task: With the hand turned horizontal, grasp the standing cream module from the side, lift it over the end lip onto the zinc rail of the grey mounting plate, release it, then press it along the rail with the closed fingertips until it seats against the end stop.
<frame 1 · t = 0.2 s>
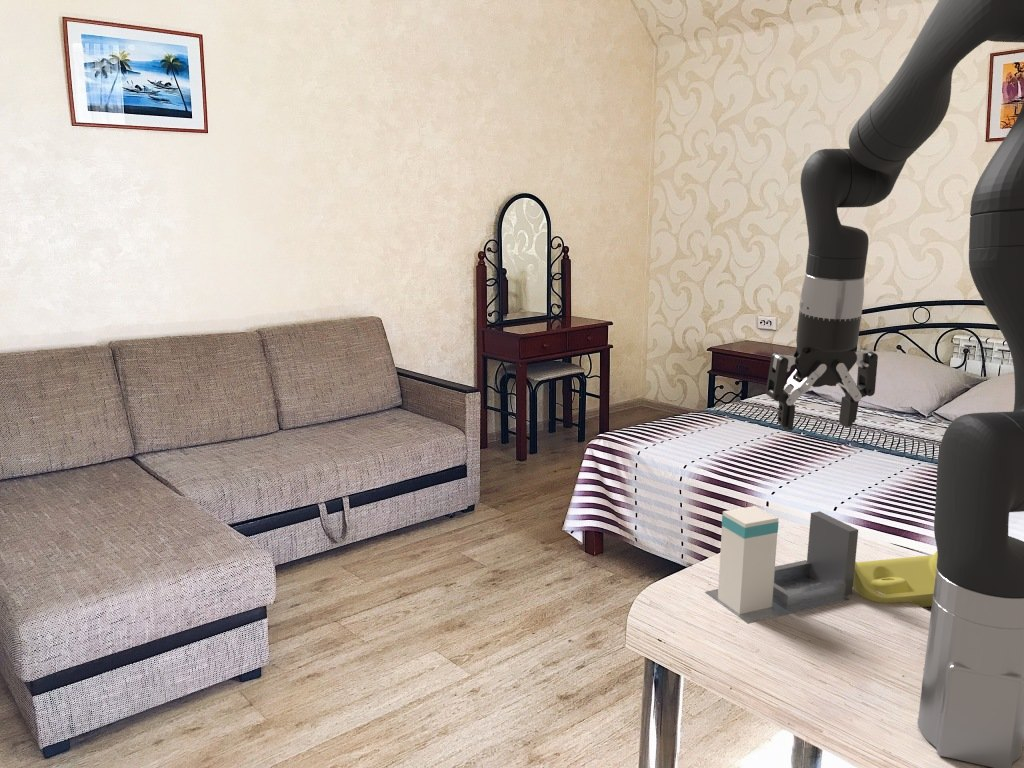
hand: (816, 427, 114), 22 cm above the table, tool pointing down, fingers open, 8 cm apart
plastic component: (917, 596, 114), on the table
module: (744, 602, 109), point 1 cm above the table, touching rail plate
end stop: (827, 594, 114), on the table
rail plate: (775, 606, 111), on the table
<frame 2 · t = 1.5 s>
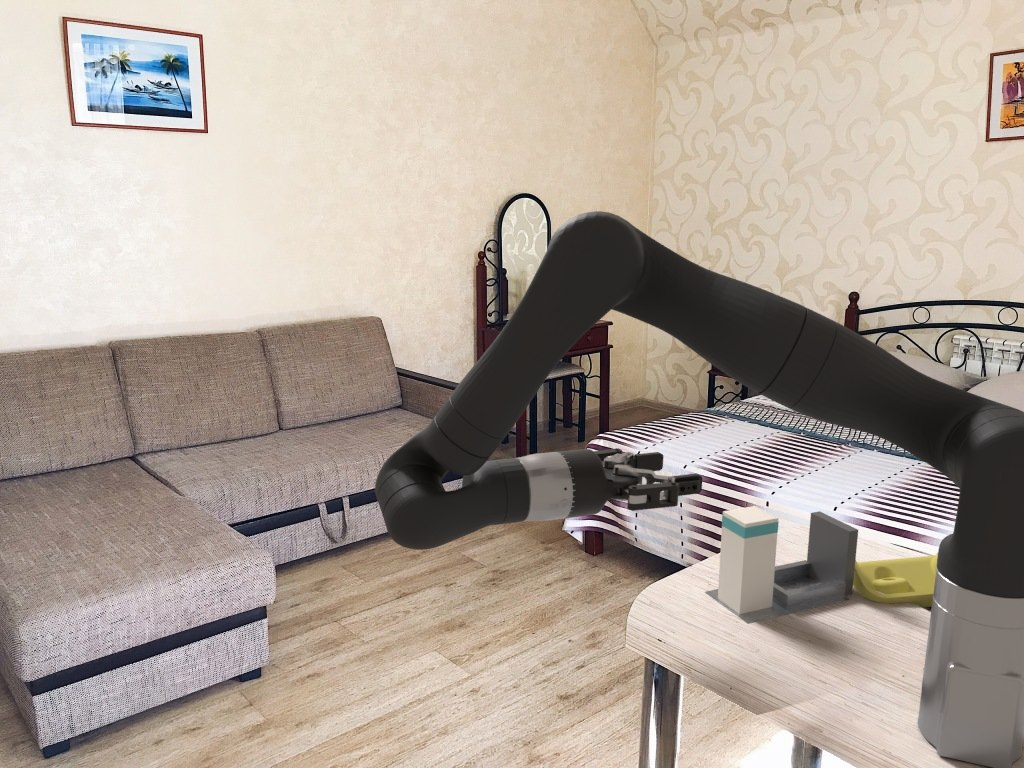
hand: (680, 471, 101), 20 cm above the table, tool horizontal, fingers open, 8 cm apart
nothing on the table moved.
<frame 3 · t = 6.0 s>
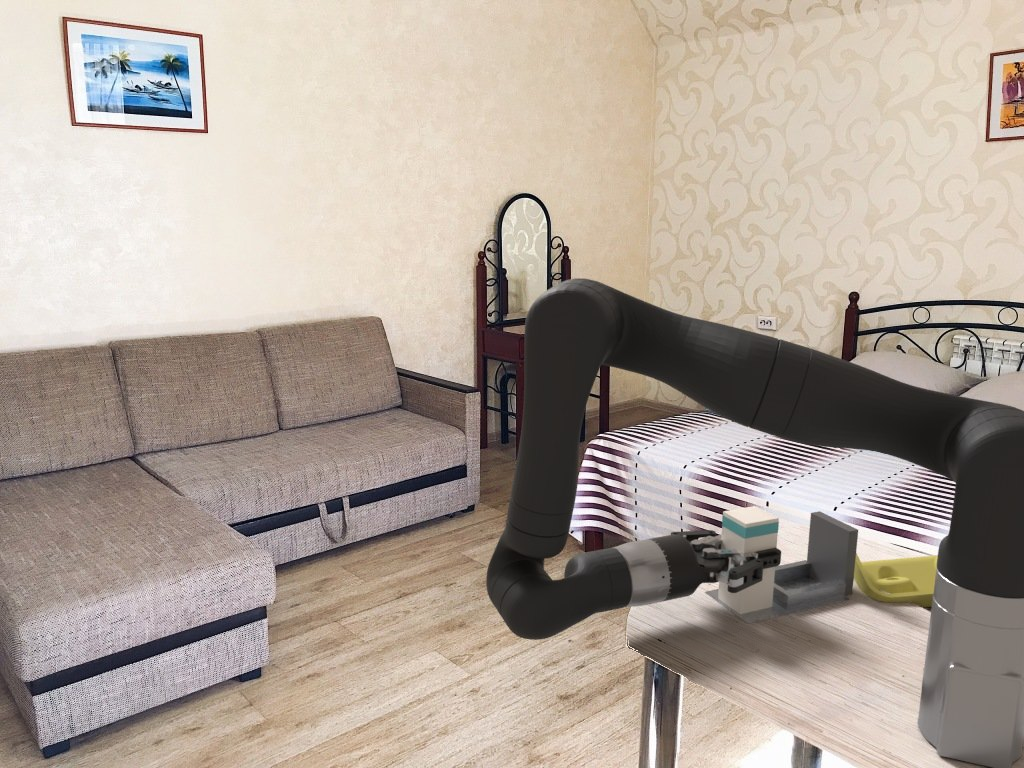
hand: (765, 548, 108), 9 cm above the table, tool horizontal, fingers closed on module, 4 cm apart
module: (744, 602, 109), point 1 cm above the table, touching gripper, rail plate
when the fingers open (10 cm above the table, at t = 9.7 s): module drops 1 cm, resting on rail plate.
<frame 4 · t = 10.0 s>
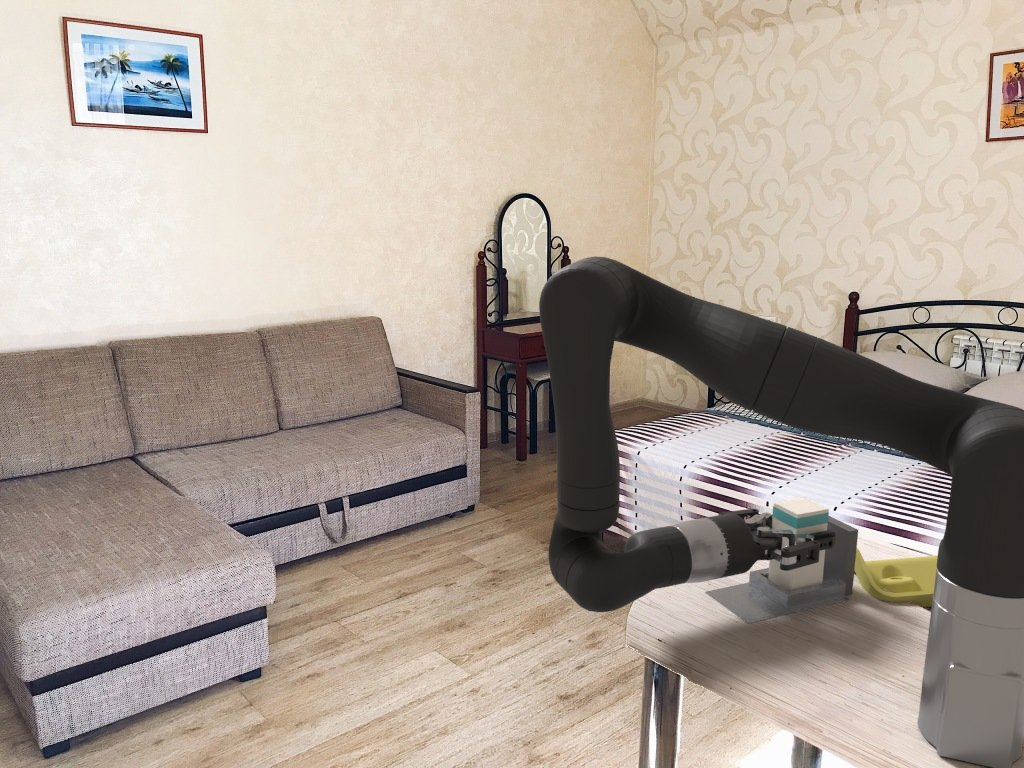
hand: (813, 528, 111), 10 cm above the table, tool horizontal, fingers open, 6 cm apart
module: (794, 591, 112), point 2 cm above the table, touching rail plate
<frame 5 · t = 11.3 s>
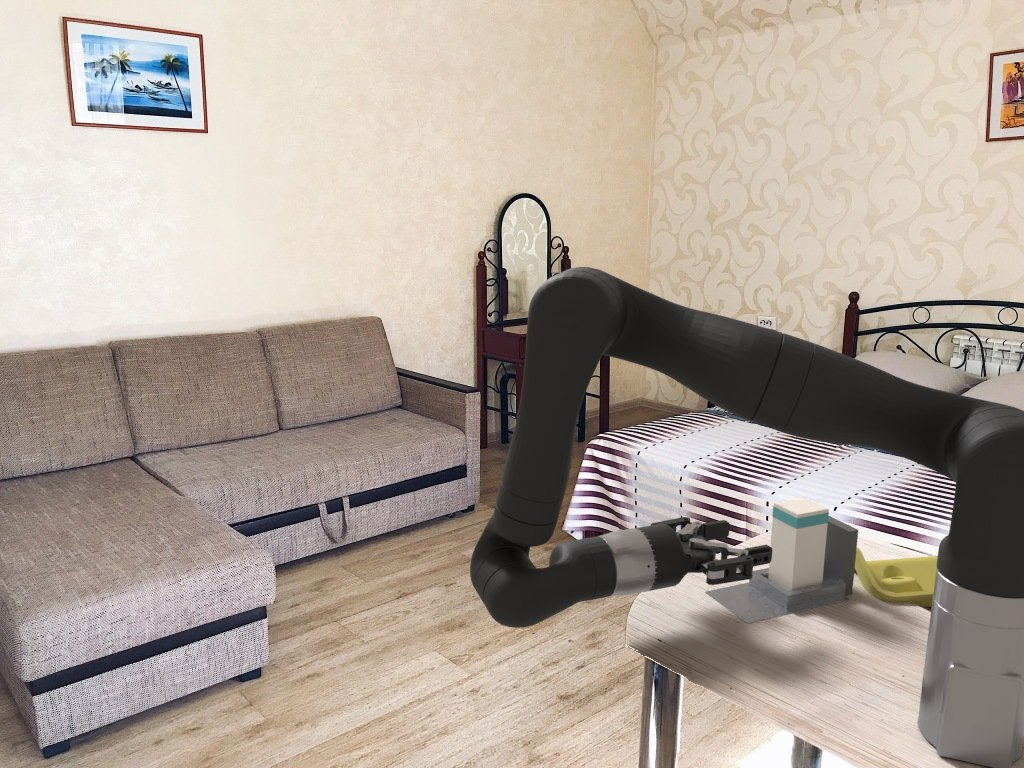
hand: (748, 540, 107), 10 cm above the table, tool horizontal, fingers open, 8 cm apart
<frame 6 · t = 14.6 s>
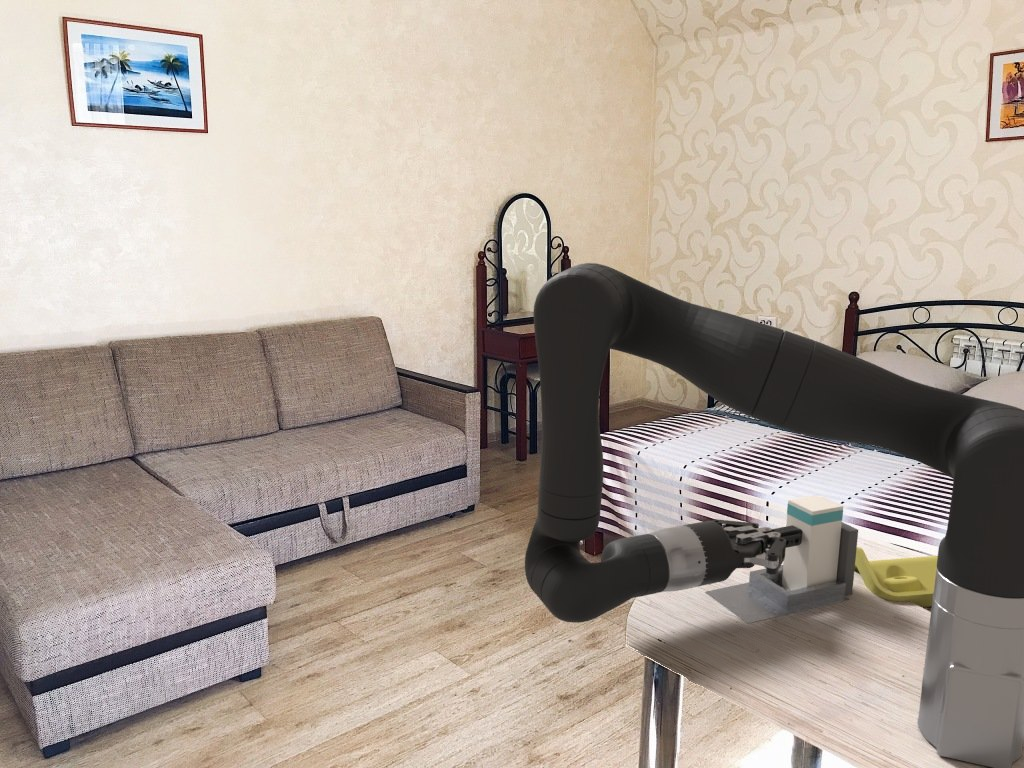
hand: (797, 534, 110), 10 cm above the table, tool horizontal, fingers closed
module: (808, 588, 112), point 2 cm above the table, touching gripper
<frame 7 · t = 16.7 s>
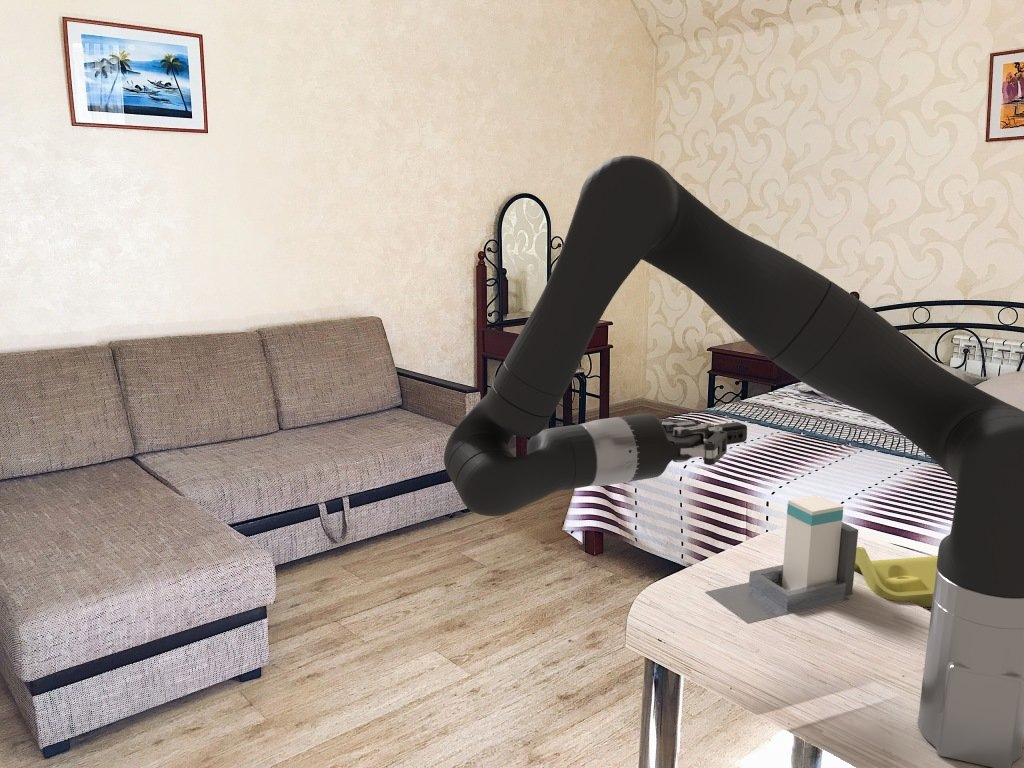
hand: (742, 431, 103), 24 cm above the table, tool horizontal, fingers closed
module: (808, 588, 112), point 2 cm above the table, touching rail plate
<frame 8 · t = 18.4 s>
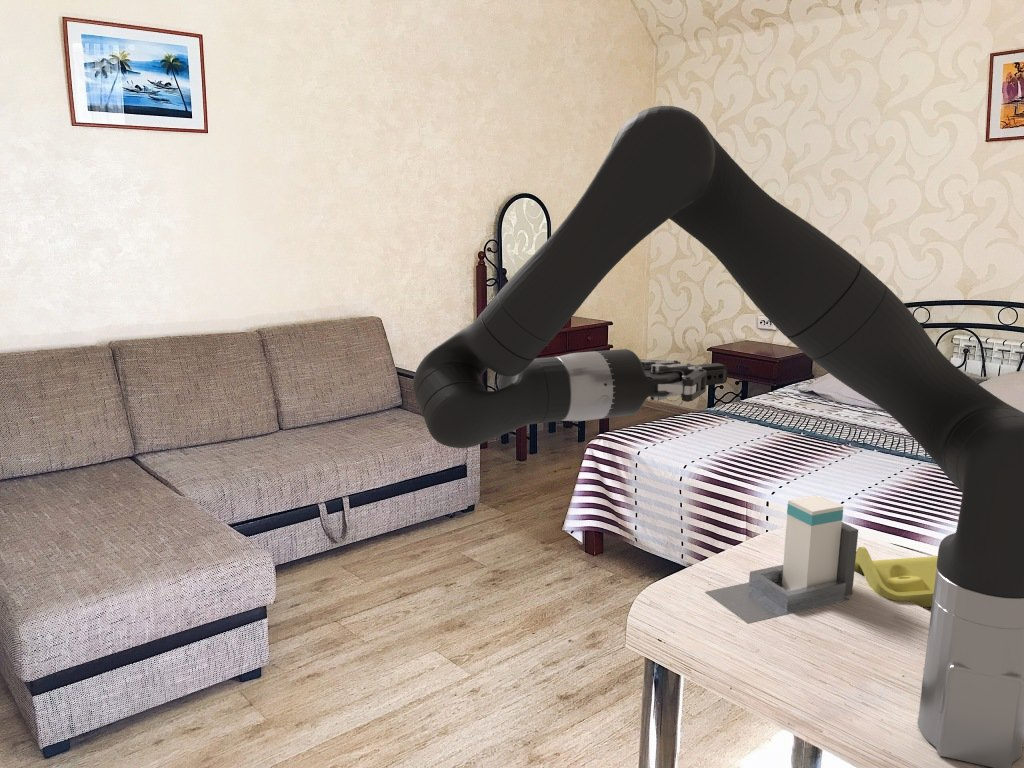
hand: (723, 372, 100), 32 cm above the table, tool horizontal, fingers closed
at the end: module 0.1 cm from the target spot, point 1.5 cm above the table; module tilted 0°; the gripper is holding nothing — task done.
